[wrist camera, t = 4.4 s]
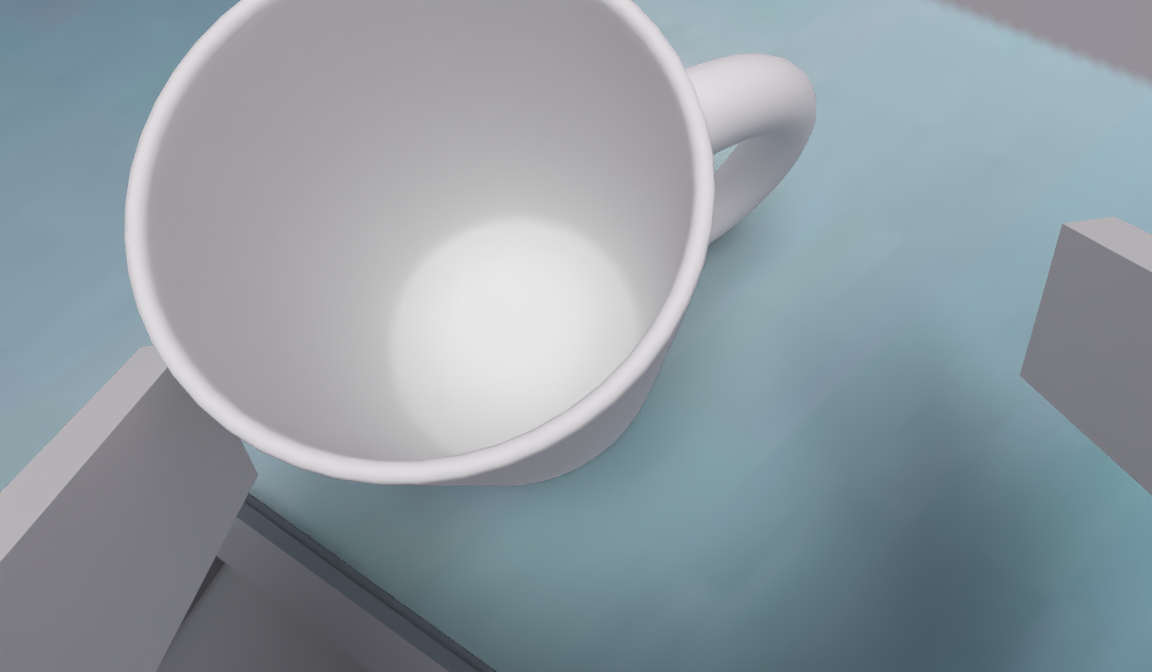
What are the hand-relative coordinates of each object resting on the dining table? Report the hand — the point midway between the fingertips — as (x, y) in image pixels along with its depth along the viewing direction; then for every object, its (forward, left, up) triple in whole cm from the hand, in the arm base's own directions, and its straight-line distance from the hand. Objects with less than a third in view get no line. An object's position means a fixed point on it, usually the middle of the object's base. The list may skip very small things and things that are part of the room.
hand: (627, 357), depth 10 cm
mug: (-3, +2, -9) cm, 9 cm away
